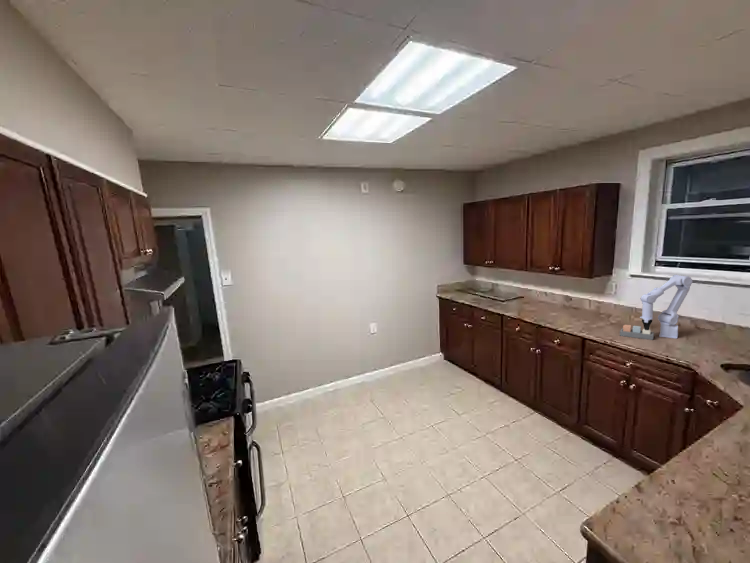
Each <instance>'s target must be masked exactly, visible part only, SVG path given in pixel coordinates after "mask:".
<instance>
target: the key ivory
mask: <svg viewBox="0 0 750 563" xmlns="http://www.w3.org/2000/svg"><path fill="white" fill-rule="evenodd" d="M642 331H643V332H642V333H643V334H651V332H652V329H650V328H649V330H645V329H644V328H642Z"/></svg>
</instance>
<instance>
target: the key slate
mask: <svg viewBox="0 0 750 563" xmlns="http://www.w3.org/2000/svg"><path fill="white" fill-rule="evenodd" d="M632 329H633V332H636V333H640V332H641V330H642V326H640V325H633V326H632Z"/></svg>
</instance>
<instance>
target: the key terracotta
mask: <svg viewBox="0 0 750 563" xmlns="http://www.w3.org/2000/svg"><path fill="white" fill-rule="evenodd" d="M622 328H623V331H627V332H631V329H632V325H631V324H623V326H622Z"/></svg>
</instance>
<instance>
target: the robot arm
mask: <svg viewBox="0 0 750 563" xmlns="http://www.w3.org/2000/svg"><path fill="white" fill-rule="evenodd" d="M693 282H694V280H693V279H692V277H691V276H688V275H680V274H674V275H672V276H670V278H669V280H667V281H666V282H665V283H663V285H661V286H659V287H654V288H653V289H652V290H651V291H649V292H647V293H644V294H642V296H641V297H640V301H641V304H642V306H641V307H642V309H641V310H642V311H641V316H639V318H640V319H641V322H642V325H643V329H645V330H649V329H650V327H651V324H652V323H653V320H654V318H653V315H654V314H653V313H654V303H655V302H656V301H657V299H658V298H660V297H661V296H662V295H664V294H665V292H666V291H667V290H669V289H670V288H672V287H674V286H675V288H677V290H676V292H675V294H674V295H673V298H672V299H671V301H670V303H669V305H668V306H667V309H665V310H662V311H661V313H660V314H658V316H657V319H658V320H657V321H659V323H660V329H659V334H658V337H661V338H668V339H669V338H670V339H678V336H679V325H678V321H679V317H680V316H679V314H678V311H679V309H680V308H681V306H682V304H683V302H684V300H685V299H686V297H687V295H688V293H689V291H690V289H691V286H692V284H693Z"/></svg>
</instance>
